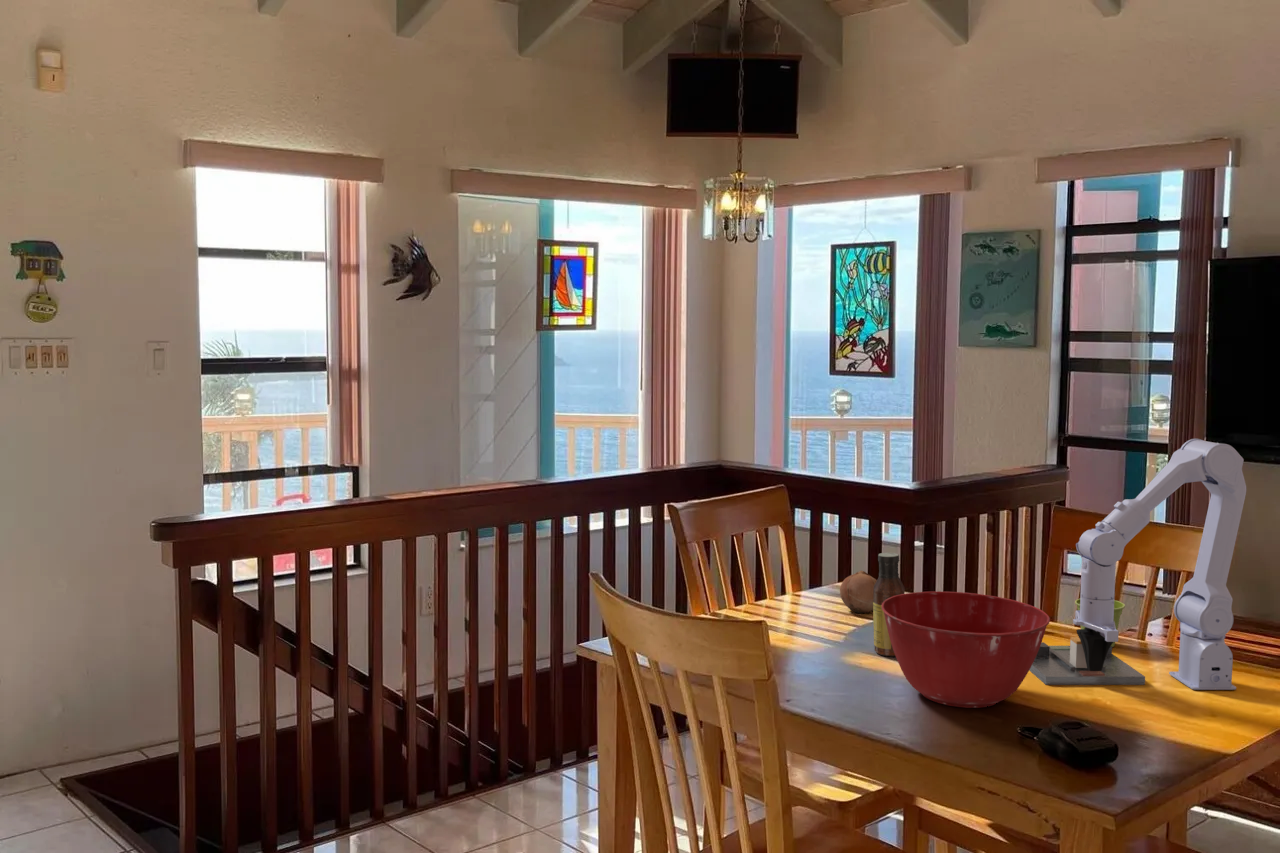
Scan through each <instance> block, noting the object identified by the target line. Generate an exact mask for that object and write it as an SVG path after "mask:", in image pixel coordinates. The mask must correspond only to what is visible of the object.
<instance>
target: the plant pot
mask: <svg viewBox="0 0 1280 853" xmlns="http://www.w3.org/2000/svg"><path fill="white" fill-rule="evenodd" d="M1074 603H1075V605H1076V608H1077V609H1076V610H1080V598H1078V599H1075V601H1074ZM1125 608H1126V604H1125V603H1123V602H1121V601H1119V600H1115V599H1114V619H1113V621H1114V622H1115V627H1116V630H1118V628H1119V624H1120V619H1121V615H1122V614H1123V610H1124V609H1125ZM1079 626H1080V629H1084V628H1086V627H1084V626H1081V625H1079ZM1115 644H1116V642H1113V643H1112V645H1111V646H1112V648H1113V647H1115Z"/></svg>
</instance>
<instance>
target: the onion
mask: <svg viewBox="0 0 1280 853" xmlns="http://www.w3.org/2000/svg"><path fill="white" fill-rule="evenodd" d="M876 581H877V579H876V578H874V577H873V576H871V575H870V573H868V572H866V571H865V570H859V571H857V572H855V573H853V574H850V575H848V576H847V577H845V578H844V579H843V581H842V582H841V585H840V588H839V594H840V598H841V601H842V603H843V604H844V605H845V606H846V607H847V609H849V610H850V611H851V612H853V613H858V614H859V615H860V614H861V613H862V614H864V613H870V612H873V596H874V585H875V583H876Z"/></svg>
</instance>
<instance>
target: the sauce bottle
mask: <svg viewBox="0 0 1280 853" xmlns="http://www.w3.org/2000/svg"><path fill="white" fill-rule="evenodd" d="M877 561H878V570H879V571H878V578H877V579H876V580H877V581H876V583H875V585H874V596H873V611H872V612H873V613H872V615H873V618H872V619H873V620H872V623H873V647H874V651H875V653H876V654H878V655H880V656H884V657H885V656H887V657H896V656H895V653H894V650H893V647H892V644H891V641H890V637H889V634H888V629H887V625H886V620H885V616H884V612H883V610H882V607H881V606H882V603H883V602H884V601H885V600H886V599H888V598H890V597H893V596H896V595H901V594H906V592H905V588H906V587H905V586H904V584H903V582H902V579H901V578H900V576H899V575H900V573H899V563H900V555H899V554H898V553H895V552H881V553H878V555H877Z"/></svg>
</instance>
